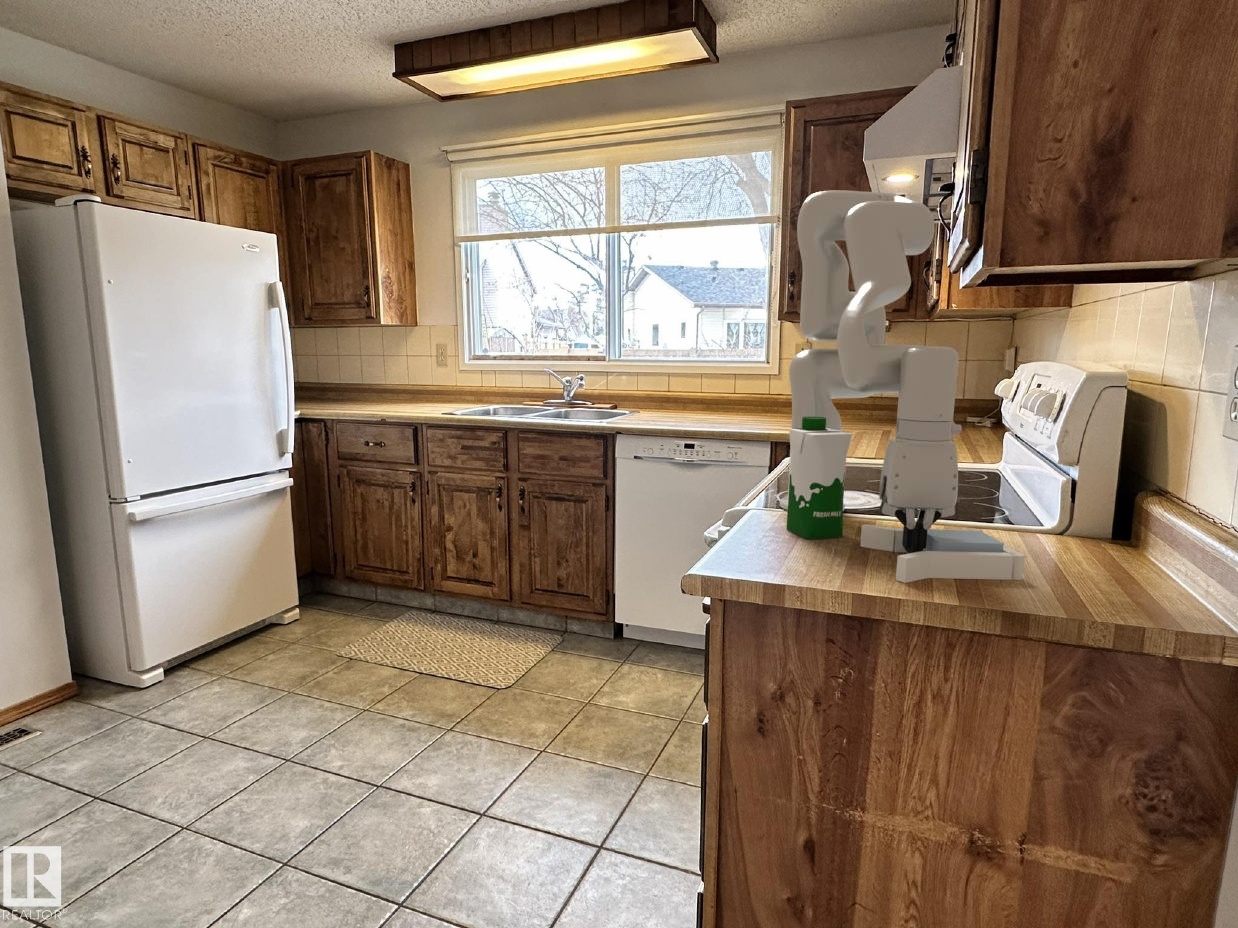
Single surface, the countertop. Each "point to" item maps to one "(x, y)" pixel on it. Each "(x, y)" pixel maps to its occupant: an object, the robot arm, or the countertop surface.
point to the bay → (943, 559)
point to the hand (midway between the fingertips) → (913, 552)
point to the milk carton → (817, 479)
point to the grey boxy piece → (961, 541)
